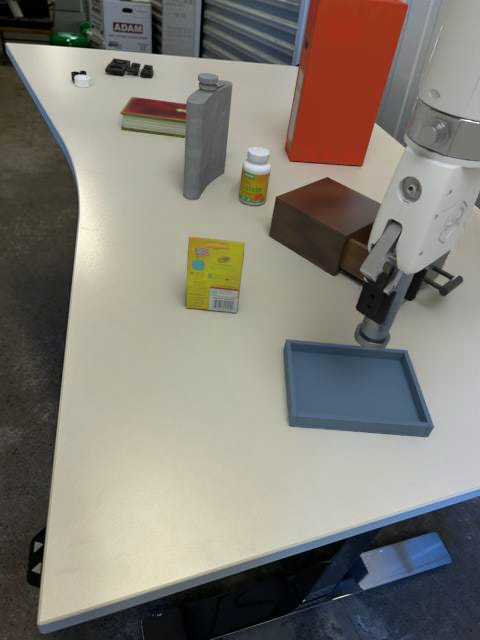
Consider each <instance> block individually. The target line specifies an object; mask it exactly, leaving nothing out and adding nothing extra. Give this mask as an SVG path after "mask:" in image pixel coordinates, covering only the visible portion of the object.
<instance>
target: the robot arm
mask: <svg viewBox="0 0 480 640" xmlns="http://www.w3.org/2000/svg"><path fill="white" fill-rule="evenodd" d="M439 29H440V30H439V32H438V35H437V38H436V42H435V44H434V47H433V51H432V53H431V56H430V59H429V62H428V65H427V68H426V71H425V74H424V77H423V80H422V83H421V86H420V89H419V91H418V94H417V97H416V100H415V103H414V105H413V109H412V111H411V113H410V118H409V120H408V123H407V127H406V129H405V132H404V135H403V141H404V143H405V144H406V147H405V148H404V150H403V153H402V155H401V156H400V158H399V162H398V163H397V165H396V167H395V171H394V172H393V175H392V177H391V178H390V181H389V184H388V186H387V188H386V191H385V193H384V196H383V198H382V200H381V202H380V203H381V206H380V208H379V211H378V213H377V216H376V219H375V222H374V225H373V228H372V231H371V234H370V238H369V242H368V251H369V253H370V254H369V255H368V257H367V258H366V260H365V261H364V263H363V264H362V266H361V268H360V272H361V273H362V274H363V275H364V276H365V277H364V281H365V282H364V281H363V285H362V288H361V291H360V293H359V297H358V299H357V302H356V305H355V310H356V311H357V312H359V313H360V314H362V315H363V316H366V317H368V318H369V319H371V320H372V321H374V322H376V323H377V324H379V325H380V324H382V323H383V322H385V320H386V317H387V315H388V313H389V310H390V308H391V306H392V303H393V301H394V298H395V296H396V294H397V292H395V291H394V289H395V287H396V285H397V283H398V281H399V280H400V278H401V276H402V274H403V272H404V273H405V274H407V275H409V274H414V273H415V274H414V276H413V279H412V281H411V283H410V285H409V288H408V290H407V292H406V294H405V297H404V299H406V301H408V302H413V301H414V300H415V299H416V298H417V296H418V294H419V291H420V290H419V289H420V287H421V285H422V283H423V280H424V278H425V276H426V274H427V272H428V270H426V269H424V268H428V267H429V266H430V265H431V264H432V262H434V261H435V260H437V259H438V258H440V257H441V256H442V255H444V254H445V253H447V252H448V251H449V250H451V251H452V249H453V248H454V247H456V245H457V244H458V242H459V240H460V239H461V237H462V234H463V232H464V230H465V227H466V225H467V223H468V220H469V218H470V215H471V214H472V211H473V209H474V207H475V204H476V202H477V199H478V197H479V195H480V0H449V3H448V6H447V8H446V12H445V15H444V18H443V21H442V24H441V27H440V28H439ZM393 251H394V252H396V257H397V258H395V257H393V256H391V254H392V252H393ZM385 263H386V264H388V265H390V266H392V267H393V268H395V269H394V271H393V273H392V275H391V276H390V278H389V277H388V275H387V274H386V273H385V272H383V269H382V268H383V266H384V264H385Z"/></svg>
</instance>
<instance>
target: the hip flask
mask: <svg viewBox="0 0 480 640" xmlns="http://www.w3.org/2000/svg"><path fill="white" fill-rule="evenodd" d="M197 81H198V89H196V90H195V91H193V92H192V93H191V94H190V95H189V96H188V97H187V98H186V103H185V104H186V131H185V138H184V164H183V165H184V166H183V190H182V191H183V193H182V195H183V196H182V197H184V198H185V199H186V200H191V201H195V200H198V199H200V197H201V195H202V193H203V192H204V190H205V189H206V188H207V187H208V186H209V185H210V184H211V183H212V182H214V180H216V179H217V178H219V177H220V176H222V175H223V174H225V171H226V170H225V169H226V162H227V161H226V160H227V149H228V138H229V128H230V118H231V117H230V116H231V106H232V95H233V82H231V81H229V80H224V79H220V80H219V76H218V75H217V74H214V73H209V72H201V73H199V74H197Z"/></svg>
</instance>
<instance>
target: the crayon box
mask: <svg viewBox="0 0 480 640" xmlns="http://www.w3.org/2000/svg"><path fill="white" fill-rule="evenodd" d="M187 244H188V245H187V262H186V289H185V290H186V291H185V293H186V294H185V296H186V297H185V308H186V309H188V310H189V309H190V310H191V309H194V310H195V309H196V310H204V311H214V312H223V313H224V312H225V313H232V314H237V313H238V311H239V309H238V308H239V301H240V291H241V283H242V276H243V275H242V273H243V267H244V259H245V244H246V243H245V242H243V241H234V240H225V239H217V238H216V239H215V238H208V237H198V236H188V243H187Z"/></svg>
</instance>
